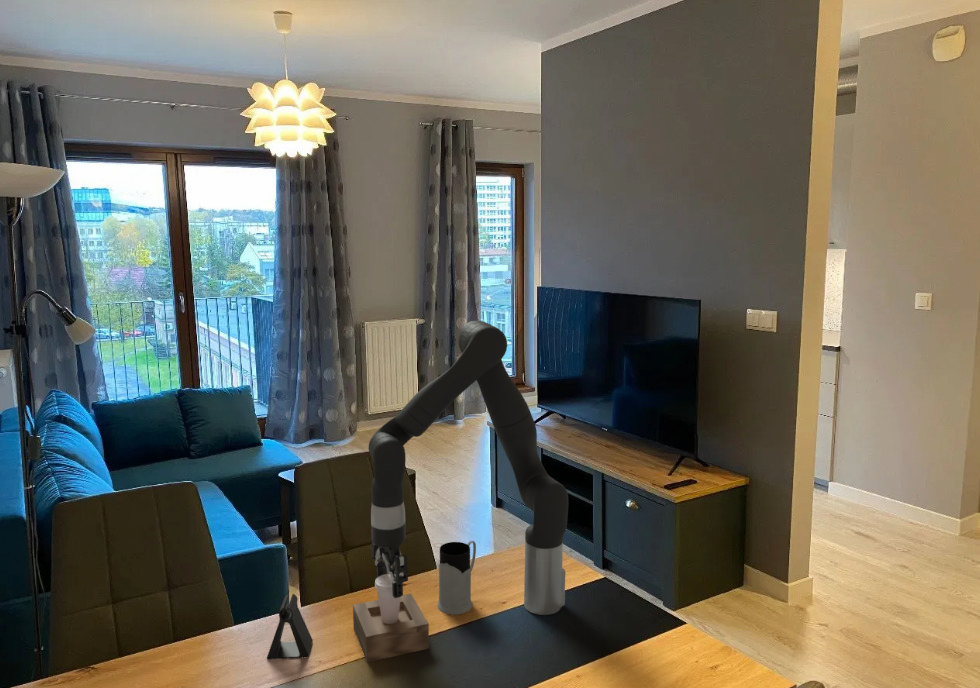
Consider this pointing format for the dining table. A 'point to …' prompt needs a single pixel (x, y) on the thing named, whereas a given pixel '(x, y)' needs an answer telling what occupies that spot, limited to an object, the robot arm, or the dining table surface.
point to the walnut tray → (390, 629)
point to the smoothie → (387, 599)
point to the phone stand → (299, 631)
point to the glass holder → (455, 577)
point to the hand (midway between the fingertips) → (389, 588)
